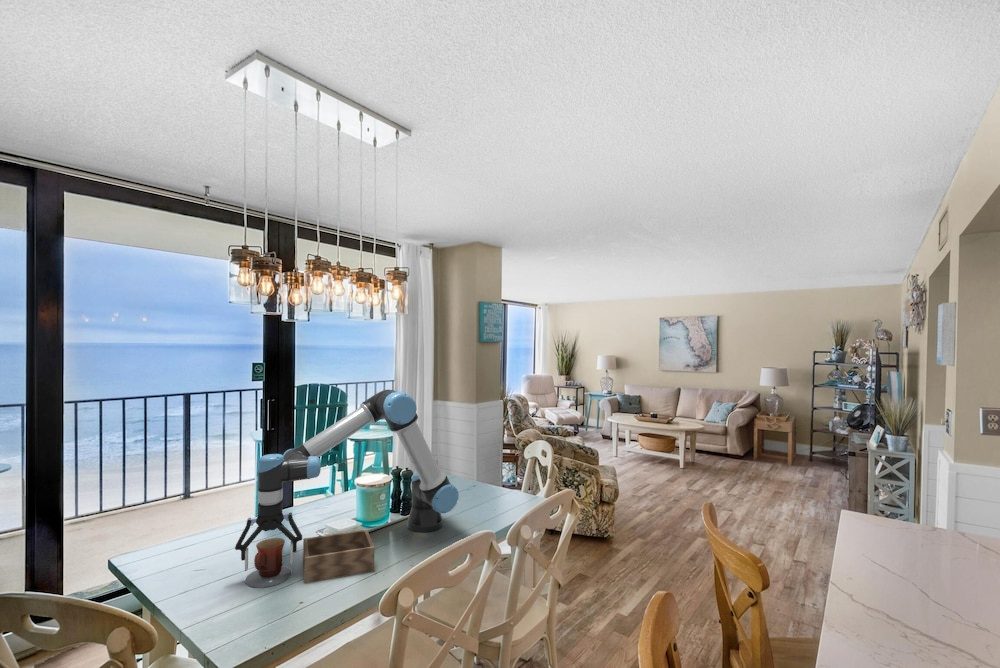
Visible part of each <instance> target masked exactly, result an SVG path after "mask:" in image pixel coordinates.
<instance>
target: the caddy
mask: <svg viewBox="0 0 1000 668" xmlns="http://www.w3.org/2000/svg"><path fill="white" fill-rule="evenodd" d="M302 540H303V541H302V542H303V544H302V545H303V547H302V566H303V583H304V584H308V583H312V582H318V581H325V580H329V579H330V580H331V579H335V578H340V577H347V576H352V575H357V574H363V573H369V572H370V573H371V572H375V551H376V549H375V545H374V543H373V541H372V538H371V535H370V533H369V530H368V529H361V530H353V531H349V532H339V533H334V534H327V535H319V536H312V537H305V538H302Z"/></svg>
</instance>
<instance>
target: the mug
mask: <svg viewBox="0 0 1000 668" xmlns="http://www.w3.org/2000/svg"><path fill="white" fill-rule="evenodd" d="M285 542H286V541H285V539H284V538H280V537H270V538H266V539H265V538H264V539H262V540H260V541H259V542H257V543H256V550H257V552H256V553H255V555H254V559H253V560H254V567H255V570H258V573H259V575H260V576H261V577H264V578H269V577H273V576H276V575H278V574H279V573H280V572H281V570H282V566H284V565H283V549H284V547H285V546H284V545H285Z"/></svg>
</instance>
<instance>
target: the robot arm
mask: <svg viewBox="0 0 1000 668" xmlns="http://www.w3.org/2000/svg"><path fill="white" fill-rule="evenodd" d="M417 409H418V408H417V404H416V401H415V400H414V398H413V397H412V396H411V395H410V394H408V393H406V392H404V391H397V390H394V389H384V390H381V391H379V392H377V393H375V394H373V395H372V396H370V397H369V398H368V399H365V400H364V401H362V402H361V403H360V405H359V407H358V408H357V409H355V410H353V411H352V412H351V413H349V414H347V415H345V416H344V417H343V418H341V419H339V420H337V421H336V422H335V423H333V424H332V425H330V426H328V427H327V428H325V429H324V430H323V431H321V432H319V433H317V434H316V435H314V436H313V437H311V438H309V439H308V440H307V441H305V442H303V443H302V444H300V445H299V446H297V447H295V448H289V449H287V450H285V452H283V454H281V453H270V454H268V453H267V454H264V455H263V456H261V457H260V458H259V459H258V470H257V488H258V489H257V502H258V504H257V517H256V518H252V517H248V518H247V520H246V525H245V527H244V528H243V530H242V532H241V533H240V536H239V538H238V540H237V541H236V544H235V546H234V550H236V551H238V550H239V551H241V552H240V560H241V561H244V572H248V570H249V546H250V545H251V543H253V542H254V540H255V539H256V538H257V536H258V535H259V534H261V533H262V531H264V532H268V531H275V530H276V529H277V530H278V531H280V532H281V533H282V534H283V535H284V536H286V537H287V539H289V540H290V544H289V545H290V548H289V549H290V550H289V551H290V552H289V554H290V555H289V557H290V558H289V563H290V565H291V564H292V565H293V561H294V553H297V549H298V548H297V545H298V544H297V543H298V542H299V541H302V540H303V534H302V533H301V531H300V529H299V527H298V525H297V524H296V522H295V520H294V518H293V512H289V513H287V514H283V505H284V503H283V502H284V501H282V500H283V495H284V492H283V489H284V487H283V485H284V483H288V482H296V481H303V480H311V479H314V478H318V477H319V476H320V474H321V467H322V466H321V465H322V464H321V459H320V458H319V457H321V456H322V455H324V454H326V453H327V452H329V451H330V450H331V449H334V447H337V446H338V445H339V444H341V443H342V442H344V441H345V440H347V439H348V438H350V437H351V436H353V435H354V434H356V433H357V432H359V431H360V430H362V429H363V428H365V427H366V426H368V425H369V424H371V425H372V424H373V425H375V423H377V422H379V421H382V420H385V422H386V424H387V425H388V427H389V429H390V431H391V432H392V433H396V434H397V436H398V438H399V441H400V443H401V444H402V446H403V448H404V450H405V452H406V454H407V456H408V459H409V460H410V463H411V464H412V466H413V468H414V470H415V473H413V474H412V477H411V509H410V512H409V515H408V518H407V524H406V526H407V529H408V530H410V531H411V532H418V533H428V532H434V531H437V530H439V529H441V528H442V527H443V523H444V522H443V517H442V514H447V513H450V512H451V511H452V510H453V509H454V508H455V507H456V506H457V504H458V500H459V497H460V495H459V491H458V489H457V488H456V486H455V485H453V484H451V482H450V480H449V478H448V476H447V473H446V472H445V471H441V470H440V468H439V466H438V464H437V462H436V460H435V457H434V456H433V454H432V451H431V450H430V447H429V445H428V443H427V441H426V439H425V437H424V435H423V432H422V431H421V429H420V427H419V425H418V423H417V422H418V420H419V415H418V413H417ZM284 520H285V521H286V522H288V523H289V525H290V527H291V529H292V531H293V532H294V534H295V535H294V534H293V533H292V532H291V531H290V530H289V529H288V528H287V527H286V526H285V525H284V524H283V523H282V522H283V521H284ZM255 523H256V525H257V527H256V529H254V531H253V532H252V533H251V535H250V536H249V537H248V538H247V539H246V540H245V538H246V537H247V534H248V533H249V531H250V529H251V527H252V526H254V524H255ZM244 540H245V541H244ZM243 542H244V543H243Z"/></svg>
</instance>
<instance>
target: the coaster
mask: <svg viewBox="0 0 1000 668" xmlns="http://www.w3.org/2000/svg"><path fill="white" fill-rule="evenodd" d="M292 573H293V572H292V569H291V568H290V567H287V566H284V565H282V570H281V572H280V573H279V574H278V575H276V576H273V577H269V578H264V577H261V576H260V575H259V573H258V570H257V569H255V570H254V571H252V572H250V573H249V574H248V575H247V576H246V577H245V579H244V580H245V582H244V584H245V585H246V586H247V587H250V588H254V589H264V588H269V587H275V586H278V585H281V584H282V583H285V581H286V582H287V580H289V579H290V578H292V577H291V576H292Z"/></svg>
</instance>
